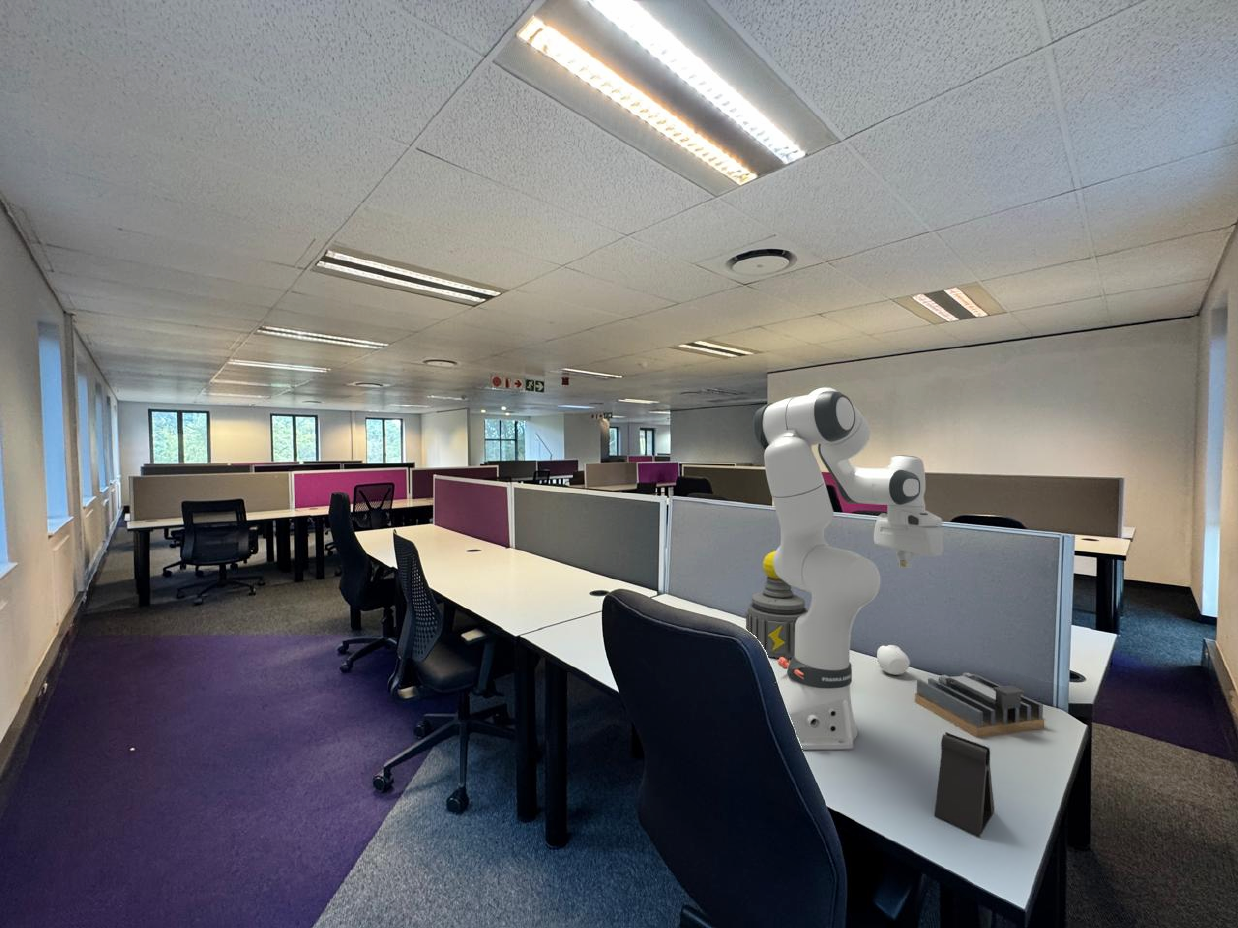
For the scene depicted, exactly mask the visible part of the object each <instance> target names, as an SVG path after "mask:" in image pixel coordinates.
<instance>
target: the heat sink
mask: <svg viewBox="0 0 1238 928" xmlns="http://www.w3.org/2000/svg"><path fill="white" fill-rule="evenodd" d="M960 676H966V677H968V678H970V679H972V680H974V681H976V682H978V683H980V684H982V685H984V686H986V687H988V688H990V689H993V690H994V691H996V704H994V703H992V702H990V701H988V700H986V699H984V698H982V697H980V696H978V695H976V694H974V693H972V692H970V691H968V690H966V689H964V688H962V687H960V686H958V685H956V684H954V683H952V682H951V677H955V676H954V675H951V676H948V675H947V674H942V675H941V674H940V676H939V677H938V680H935V679H934V678H928V679H927V682H926V681H924V680H923V679H917V680H916V692H915V693H914V702H915V703H917V704H919V705H920V706H921V707H923V708H925V709H927V710H928V711H930V712H932V713H933V714H935V715H937V716H938V717H940V718H942V719H943V720H945V721H947V722H950V723H951V724H952V725H954V726H956V727H957V728H958V729H961V730H963V731H964V732H966V733H967V734H969V735H971V736H973V737H975V738H984V737H992V736H998V735H1005V734H1012V733H1020V732H1026V731H1028V732H1029V731H1033V730H1034V731H1035V730H1040V729H1045V718H1044V717H1043V716H1044V715H1043V714H1044V712H1043V711H1044V709H1043V708H1044V704H1043V703H1041V702H1038V701H1036V700H1034V699H1032V698H1029V697H1028V696H1025V694H1026V690H1023V689H1021V688H1018V687H1017V686H1014V685H1005V686H1003V685H1001V684H998V683H996V682H994V681H991V680H989V679H987V678H984V677H983V676H980V675H978V674H975V673H970V672H963V673H962V674H961V675H960Z"/></svg>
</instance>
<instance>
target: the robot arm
mask: <svg viewBox="0 0 1238 928" xmlns="http://www.w3.org/2000/svg"><path fill="white" fill-rule="evenodd" d="M870 429H871V428H870V426H869V424H868V421H866V419H865V417H864V416H863V415H862V413H860V411H859V410H858V409H857V407H856V406H855V405H854V404H853V403H852V400H851V399H850V398H849V397H848V396H847V395H845V394H844V393H843V392H840V391H838V390H836V389H834V388H832V387H820V388H817V389H815V390H812V391H811V392H810V393H808V394H805V395H801V396H798V395H797V396H792V397H788V398H785V399H781V400H779V401H777V402H769V403H768V404H766V405H764V406H762V407H760V408H758V409H757V410H756V412H755V413H754V417H753V420H752V432H753V435H754V438H755V439H756V441H757V443H758V444H759V445H760V446H761V447H762V450H764V452H763V453H764V454H763V459H764V468H765V474H766V480H767V485H768V488H769V492H770V495H771V498H772V501H773V505H774V508H775V512H776V516H777V519H778V523H779V527H780V545H779V546H778V547H777V549H776V550H775V551H776V552H775V554H774V558H773V567H774V570H775V573H776V574H777V576H778V577H779V578H781V579H782V580H783V581H785V582H786V583H787V584H789V585H790V586H791V587H792V588H794V589H797V590H801V591H803V592H805V593H808V594H810V595H811V601H810V605H809V609H808V612H807V613H805V614H803V615H801V616H800V617H799V618H798V619H797V620H796V623H795V654H794V655H793V657H792V659H790V661H789V659H785V658H784V657H780V658H779V659H777V664H778V666H779V667H781V668H782V669H783V670H786V673H785V674H784V675H783V676H781V677H780V679H778V680H777V681H776V682H778V685H779V688H780V690H781V694H782V697H783V700H784V703H785V705H786V707H787V710H788V713H789V715H790V717H791V720H792V722H793V725H794V728H795V730H796V735H797V737H798V738H799V741H800V744H801V746H802V749H803V750H815V751H816V750H852V749H853V748H854V740H855V739H856V737H857V736H858V734H859V733H858V729H857V725H856V721H855V717H854V711H853V706H852V705H853V703H852V696H851V684H852V682H853V679H852V678H853V673H852V672H853V669H852V662H850V655H851V654H850V652H851V636H852V635H851V634H852V628H853V623H854V621H855V619H856V616H857V614H858V613H859V612H860V610H861V609H862V608H863V607H864V606H867V605H868V604H870V603H871V602H872V601H873V600H875V598H876V597H877V595H879V594H878V593H879V591H880V588H881V575H880V571H879V569H878V566H877V565H876V564H875V562H874V561H872V560H871V559H868V558H867V557H865V556H862V555H861V554H860V553H857V552H855V551H852V550H848V549H843V548H840V547H839V548H838V547H835V546H829V544H828V543H827V541H826V538H825V537H826V536H825V529H826V528H828V526H829V525H830V524H831V523H832V521H833V519H834V509H833V506H832V503H831V499H830V496H829V492H828V489H827V485H826V482H825V479H824V476H823V472H822V471H821V467H820V466H819V462H818V461H817V458H816V456H815V454H814V452H813V450H812V449H813V448H812V446H816V445H817V452H818V455H819V458H820V459H821V462H822V464H823V465H824V466H825V469H826V470H827V471H828V473H829V475H830V476H831V478H832V479H833V481H834V482H835V484H836V487H837V491H838V493H839V495H840V497H841V498H842V499H843V500H844V501H845V502H846V503H848V504H851V505H858V504H859V505H860V504H862V505H863V504H867V505H880V506H881V505H882V506H883V505H885V506H887V510H886V513H884V512H883V513H880V514H879V515H878V516H877V517H876V522H875V526H874V532H873V541H874V542H873V543H874V544H875V546H880V547H883V548H888V549H892V550H894V554H895V556H896V559H897V560H898V567H900V568H903V569H909V570H911V569H913V567H914V565H913V564H914V563H913V562H914V561H915V559H916V558H917V555H918V556H919V555H920V556H925V557H930V558H931V557H933V558H935V557H940V556H941V555H942V554H943V552H944V535H943V531H942V529H941V528H940V527H942V526H943V519H942V518H941V517H939V516H938V515H935V513H931V512H930V511H929V510H926V502H925V498H924V496H925V492H926V473H925V467H924V461H923V460H922V459H921V458H919V457H917V456H912V455H911V456H910V455H894V456H892V457H890V461H889V464H888V465H887V466H885V467H876V468H875V467H858V466H856V465H855V466H854V465H852V464H851V462H850V459H852V458H854V457H856V456H858V455H859V454H860V453H861V452H862V451H863V450H864V449H865V448H866V447H867V445H868V443H869V440H870V437H871V436H870V435H871V430H870ZM803 750H802V751H803Z"/></svg>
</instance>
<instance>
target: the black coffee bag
mask: <svg viewBox="0 0 1238 928" xmlns="http://www.w3.org/2000/svg"><path fill="white" fill-rule="evenodd" d="M944 732H945V731H944ZM940 745H941V747H940V748H941V750H940V751H941V756H940V762H939V772H938V781H937V789H936V798H935V799H936V800H935V808H934V817H935V818H938V819H939V820H942V821H943V822H946V823H948V824H950V825H952V826H954V827H957V828H958V829H960V830H962V831H965V832H967V833H969V834H971V835H973V836H975V837H977V838H980V837H981V835H982V834H983V832H984V830H985V829H986V827H987V825H988V823H990V820H991V818H993V817H992V816H993V815H994V813H995V802H994V793H993V783H992V782H993V781H992V773H991V772H992V771H991V749H990V747H989V746H985V745H982V744H980V743H977V742H974V741H971V740H969V739H966V738H964V737H961V736H958V735H955V734H952V733H950V732H949V733H948V732H945V733H943V734H942V738H941V744H940Z"/></svg>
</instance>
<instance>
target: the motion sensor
mask: <svg viewBox="0 0 1238 928" xmlns="http://www.w3.org/2000/svg"><path fill="white" fill-rule="evenodd" d="M876 654H877V655H876V659H877V663H878V665H879V668H880V669H882V670H883V672H885V673H887V674H889V675H892V676H893V675H894V676H896V675H902V674H904V673H905V672H907V670H908V669H909V668H910V665H911V660H910V659H909V656H908V655H907V654H906V653H905V652H904V651H902V650H901V647H899V646H897V645H894V644H889V645H881V646H880V647H879V648H878V649H877V653H876Z"/></svg>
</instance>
